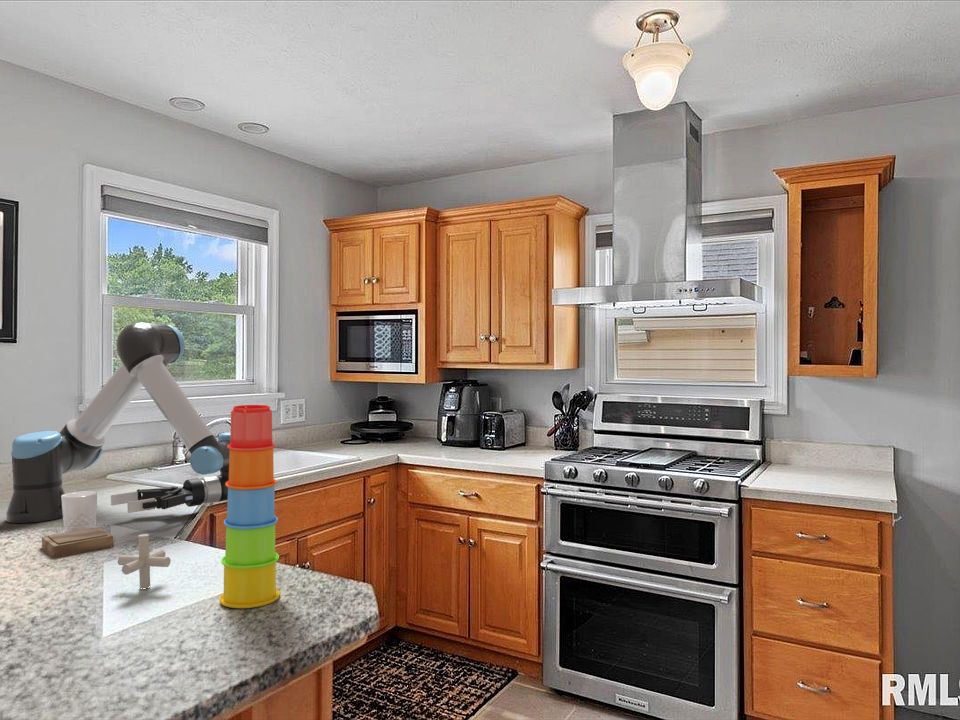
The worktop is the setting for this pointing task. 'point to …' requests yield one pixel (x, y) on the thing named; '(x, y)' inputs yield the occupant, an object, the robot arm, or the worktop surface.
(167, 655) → the worktop surface
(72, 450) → the robot arm
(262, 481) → the stacking cups
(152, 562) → the beige jack
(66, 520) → the white cup
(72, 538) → the walnut board
